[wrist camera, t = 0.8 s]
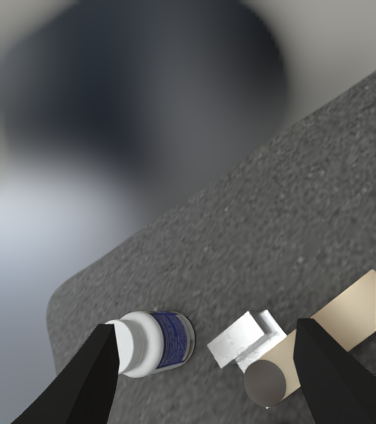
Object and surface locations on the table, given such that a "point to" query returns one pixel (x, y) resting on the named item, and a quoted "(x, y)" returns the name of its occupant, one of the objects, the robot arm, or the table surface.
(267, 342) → the hinge bracket
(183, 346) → the pill bottle
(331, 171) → the table surface
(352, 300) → the birch leg
